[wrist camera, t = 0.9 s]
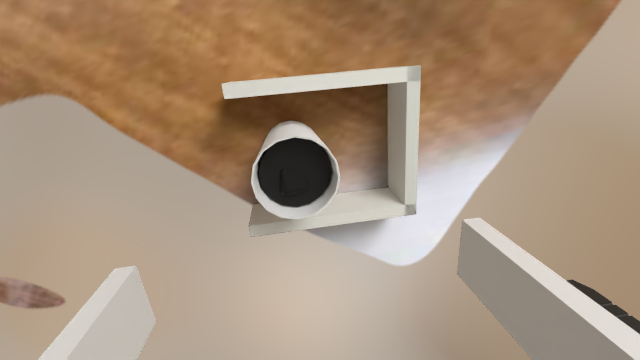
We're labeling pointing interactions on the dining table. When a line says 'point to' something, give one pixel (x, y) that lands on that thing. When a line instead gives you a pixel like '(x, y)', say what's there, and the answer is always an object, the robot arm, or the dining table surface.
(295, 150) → the white cup
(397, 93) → the u-shaped frame
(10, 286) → the dining table surface
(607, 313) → the robot arm
